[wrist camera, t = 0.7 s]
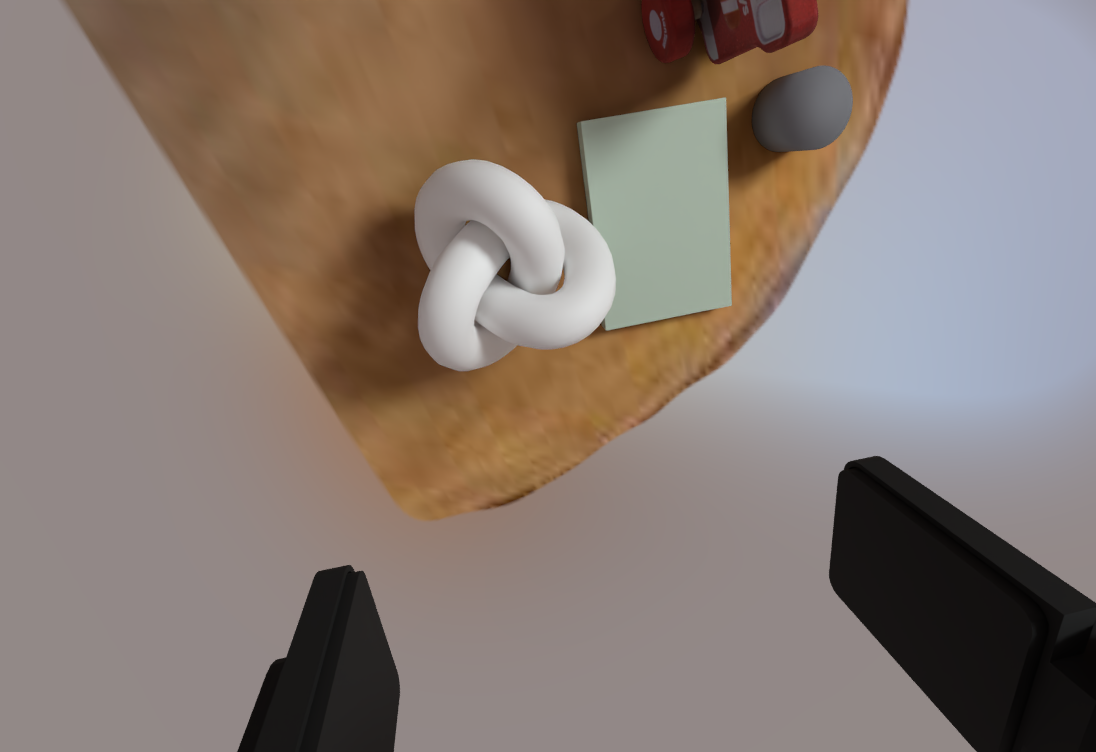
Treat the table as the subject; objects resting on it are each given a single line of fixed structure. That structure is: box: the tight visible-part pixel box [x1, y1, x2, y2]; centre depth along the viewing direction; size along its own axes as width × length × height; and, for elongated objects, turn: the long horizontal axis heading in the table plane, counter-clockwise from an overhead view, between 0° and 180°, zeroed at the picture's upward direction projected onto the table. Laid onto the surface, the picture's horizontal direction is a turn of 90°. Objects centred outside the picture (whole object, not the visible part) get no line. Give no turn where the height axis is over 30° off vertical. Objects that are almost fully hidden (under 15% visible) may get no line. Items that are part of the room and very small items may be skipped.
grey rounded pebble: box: [752, 66, 853, 152], centre depth 33 cm, size 4×4×4 cm
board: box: [577, 98, 732, 331], centre depth 35 cm, size 13×9×1 cm
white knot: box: [414, 159, 616, 371], centre depth 30 cm, size 11×12×9 cm
